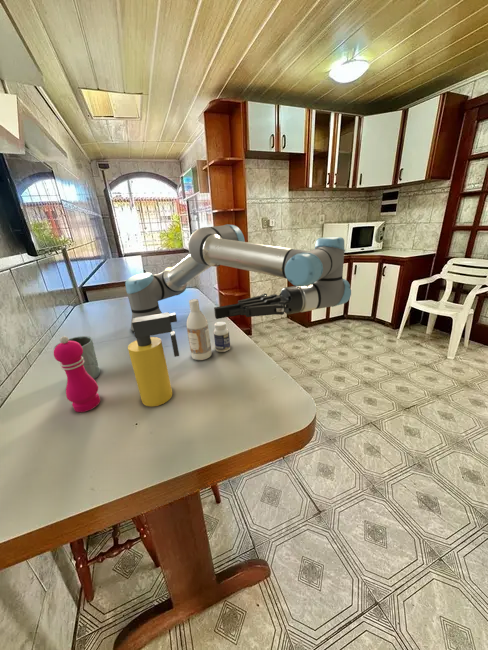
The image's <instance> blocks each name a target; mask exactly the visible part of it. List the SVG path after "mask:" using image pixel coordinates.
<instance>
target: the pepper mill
mask: <svg viewBox="0 0 488 650" xmlns="http://www.w3.org/2000/svg"><path fill="white" fill-rule="evenodd" d="M69 339H70V338H69V337H68V336H65V335H63V336H61V337H60V338H59V343H60V342H61V343H60V344H59V343H57V344H58V345H57V344H56V345H57V346H56V345H55V346H56V347H55V346H54V347H55V349H54V348H53V357H54V359H55V360H56V361H57V362H58V363H59V365H60V367H61V370H63V371H64V370H65V371H64V373H65V376H66V379H67V381H66V382H67V383H66V387H65V395H66V399H67V400H68V401H69V402H71V403H72V404H71V405H72V409H73V410H74V412H77V413H85V412H88V411H91V410H93V409H95V408H96V407H97V406H98V405H99V404H100V402H101V397H100V395H99V393H98V391H99V385H98V382H97V381H96V379H93V378H92V377H91V376H90V375H89V374H88V373H87V372H86V370H85V368H84V365H83V364H84V360H83V357H82V356H81V355H82V353H83V348H82V346H81V345H80V344H79V343H78V342H76V341H69ZM60 362H61V363H60Z"/></svg>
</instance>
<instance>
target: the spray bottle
mask: <svg viewBox="0 0 488 650" xmlns="http://www.w3.org/2000/svg"><path fill="white" fill-rule="evenodd" d="M131 320H132V319H131ZM177 322H178V318H177V314H176V312H171V313H169V312H168V311H167V312H162V313H161V314H155V315H148V316H142V317H136V318H133V320H132V326H133V330H134V332H133V333H134V334H133V335H134V337H135V339H136V340H134V341H132V342H130V343H129V344H128V345H127V350H128V354H129V355H128V356H129V358H130V362H131V366H132V369H133V373H134V376H135V381H136V384H137V388H138V392H139V397H140V400H141V403H142V404H143V406H146V407H158V406H161V405H164V404H165V403H167V402H168V401H169V400H171V398H172V397H173V389H172V384H171V380H170V379H171V378H170V375H169V370H168V365H167V360H166V355H165V351H164V346H163V342H162V339H161V338H160V337H156V335H162V334H167V333H168V334H170V332H172V331H173V328H172V323H177Z"/></svg>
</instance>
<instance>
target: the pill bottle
mask: <svg viewBox="0 0 488 650" xmlns="http://www.w3.org/2000/svg"><path fill="white" fill-rule="evenodd" d="M213 340H214V348H215V350H216V352H219V353H224V352H228V351H229V350H231V338H230V330H229V329H228V327H227V322H225V321H217V322H215V323H214V329H213Z"/></svg>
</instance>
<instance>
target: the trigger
mask: <svg viewBox="0 0 488 650" xmlns="http://www.w3.org/2000/svg"><path fill="white" fill-rule="evenodd" d="M169 334H170V341H171V345H172V346H171V347H172V351H173V357H175V358H176V357H180V352H179V347H178V341H177V336H176V331H175V330H172V332H169Z"/></svg>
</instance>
